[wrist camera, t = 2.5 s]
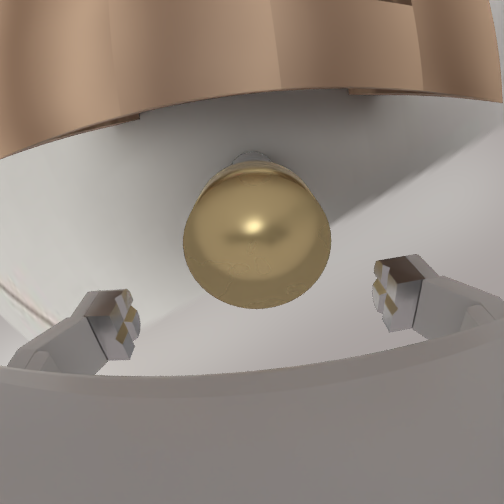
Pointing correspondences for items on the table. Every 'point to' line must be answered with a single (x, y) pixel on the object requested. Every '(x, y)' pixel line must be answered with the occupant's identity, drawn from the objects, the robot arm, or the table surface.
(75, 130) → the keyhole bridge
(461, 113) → the table surface
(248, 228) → the peg
